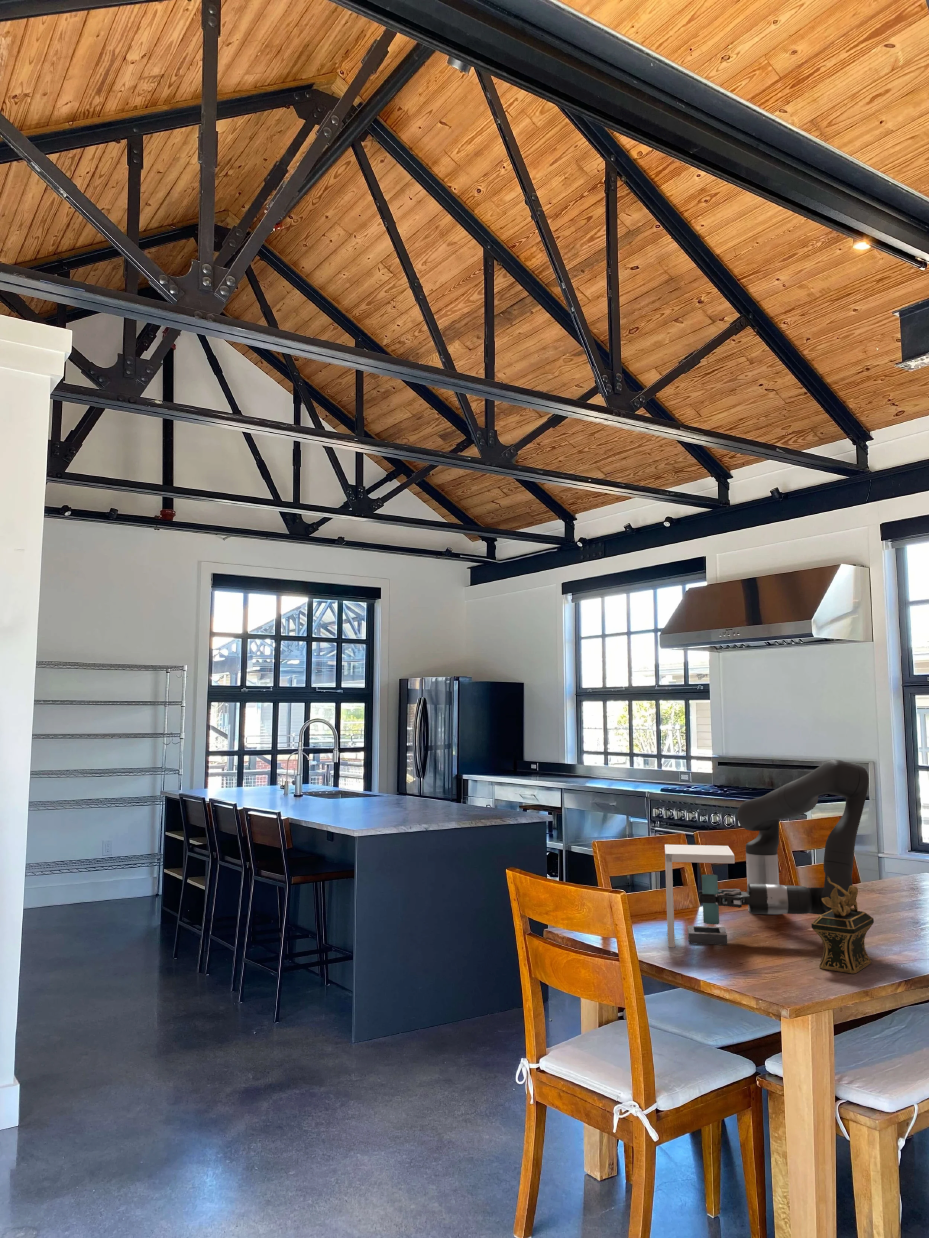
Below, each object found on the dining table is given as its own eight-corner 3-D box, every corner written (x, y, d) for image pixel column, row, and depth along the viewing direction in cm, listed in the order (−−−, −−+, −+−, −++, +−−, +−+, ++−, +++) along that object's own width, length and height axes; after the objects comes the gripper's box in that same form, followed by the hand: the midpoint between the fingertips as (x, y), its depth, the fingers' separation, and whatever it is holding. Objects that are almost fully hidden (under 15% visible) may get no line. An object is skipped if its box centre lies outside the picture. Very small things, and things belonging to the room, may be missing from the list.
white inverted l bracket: (738, 950, 219) (734, 855, 222) (668, 946, 223) (665, 853, 226) (731, 932, 238) (728, 845, 242) (667, 930, 242) (664, 844, 245)
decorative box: (835, 955, 214) (830, 872, 216) (877, 962, 207) (872, 875, 210) (806, 972, 198) (801, 882, 201) (851, 980, 192) (845, 886, 195)
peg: (703, 920, 233) (701, 874, 234) (718, 921, 232) (716, 874, 234) (703, 923, 229) (702, 876, 231) (719, 924, 228) (717, 876, 230)
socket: (687, 935, 236) (687, 925, 236) (724, 936, 234) (724, 926, 234) (689, 943, 227) (688, 933, 227) (727, 944, 225) (727, 934, 225)
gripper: (763, 879, 236) (697, 877, 239) (770, 888, 222) (699, 886, 226) (764, 908, 235) (698, 906, 238) (771, 919, 221) (701, 916, 225)
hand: (699, 896), depth 232 cm, fingers closed on peg, 4 cm apart
